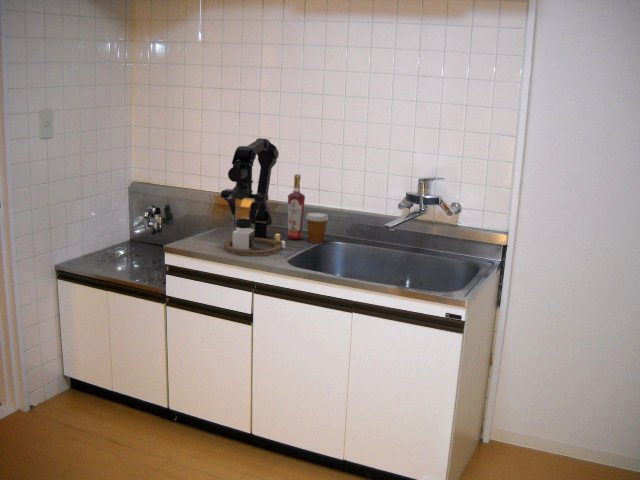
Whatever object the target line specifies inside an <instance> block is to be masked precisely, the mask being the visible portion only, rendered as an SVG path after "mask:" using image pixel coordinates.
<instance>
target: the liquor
mask: <svg viewBox="0 0 640 480" xmlns="http://www.w3.org/2000/svg"><path fill="white" fill-rule="evenodd" d="M293 181H294V182H293V191H292V192H291V193H289V194H288V195H287V235H286V237H288V238H289V239H290V240H293V241H298V240H301V238H303V234H302V233H303V223H304V212H305V201H306V200H305V199H306V196H305V195H304V194H303V193H302V192H301V187H300V186H301V183H300V182H301V174H300V173H299V174H298V173H297V174H294V176H293Z"/></svg>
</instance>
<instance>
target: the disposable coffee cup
mask: <svg viewBox="0 0 640 480" xmlns="http://www.w3.org/2000/svg"><path fill="white" fill-rule="evenodd" d="M305 219H306V223H307V224H306V225H307V235H308V242H309V243H310V244H314V245H315V244H316V245H317V244H323V243H324V239H325V234H326V228H327V223H328V221H329V220H328V219H329V217H328V214H327V213H323V212H315V211H314V212H308V213H306V216H305Z"/></svg>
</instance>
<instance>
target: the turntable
mask: <svg viewBox="0 0 640 480" xmlns="http://www.w3.org/2000/svg"><path fill="white" fill-rule="evenodd" d="M281 235H282V234H281V233H275V234H274V239H269V238H266V239H264V238H254V244H265V245H269V246H272V248H268V249H262V250H261V249H260V250H251V249H250V250H242V249H235V248H233V247H232V245H233V238H231V239H228V240H226V241H225V242H224V243H223V244H222V245H223V247H222V248H223V249H224V251H225V252H227V253H230V254H233V255H239V256H246V257H247V256H248V257H262V256H264V257H265V256H270V255H276V254H277V253H280V252H281V249H282V247H281Z"/></svg>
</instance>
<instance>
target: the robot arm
mask: <svg viewBox="0 0 640 480" xmlns="http://www.w3.org/2000/svg"><path fill="white" fill-rule="evenodd" d="M256 158H257V161H258V164H259V166H260V171H259V177H258V182H257V191H256V193H254V191H253V189H252V188H253V183H254V180H253V166H254V162H255V159H256ZM278 158H279V150H278V148H277V147H276V145H274V144H273V143H272V142H271V141H270V140H269V139H267V138H261V137H259V138H257V139H256V140H255V141H253V142H252V143H250V144H248V145H240V146H237V147H236V149H235V151H234V154H233V157H232V162H231V165H232V167H231V168H230V169H229V170H228V172H227V175H228V179H229V180H230V181H232V182H234V183H235V186H234V187H233V188H232V189H231V188H230V189H229V188H226V189H223V190H221V192H220V198H222V199H223V200H224V201H226V202H227V204H228V206H229V208H230V212H231V215H232V216H235V213H236V200H240V201H241V200H244V199H253V200H254V201H253V202H251V204H250V209H249V212H248V219H250V220H251V224H253V225H254V226H253V230H254V238H264V239H269V238H270V237H271V235H270V234H268V226H271V225H272V224H273V217H272V215H271V212H270V209H271V208H270V206H269V203H268V201H269V189H270V182H271V174H272V169H273V168H274V166H275V165H276V164H277V160H278Z"/></svg>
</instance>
